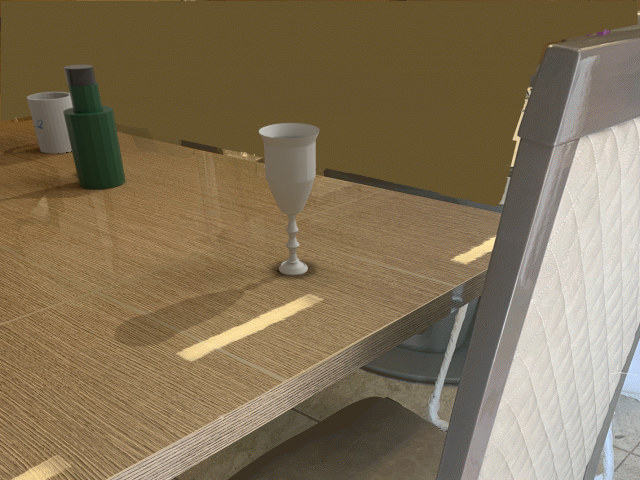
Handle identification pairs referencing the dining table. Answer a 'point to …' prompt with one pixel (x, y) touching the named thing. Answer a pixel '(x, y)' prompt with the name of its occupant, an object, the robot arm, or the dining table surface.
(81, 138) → the bottle
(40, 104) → the mug
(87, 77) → the stopper
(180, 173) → the dining table surface
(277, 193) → the chalice
